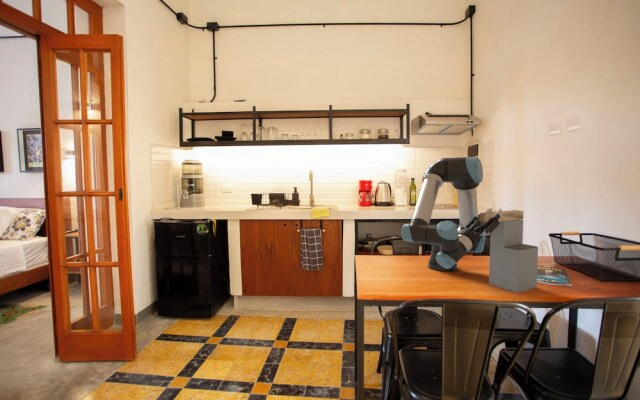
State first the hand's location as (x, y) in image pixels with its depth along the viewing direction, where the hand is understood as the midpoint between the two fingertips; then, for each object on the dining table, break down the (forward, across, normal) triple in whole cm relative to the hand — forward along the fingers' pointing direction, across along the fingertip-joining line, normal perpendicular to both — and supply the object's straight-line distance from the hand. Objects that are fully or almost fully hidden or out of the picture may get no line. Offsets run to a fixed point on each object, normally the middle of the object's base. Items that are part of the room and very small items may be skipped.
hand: (496, 210), depth 146 cm
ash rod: (+1, 0, +6) cm, 6 cm away
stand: (-10, -3, +34) cm, 36 cm away
